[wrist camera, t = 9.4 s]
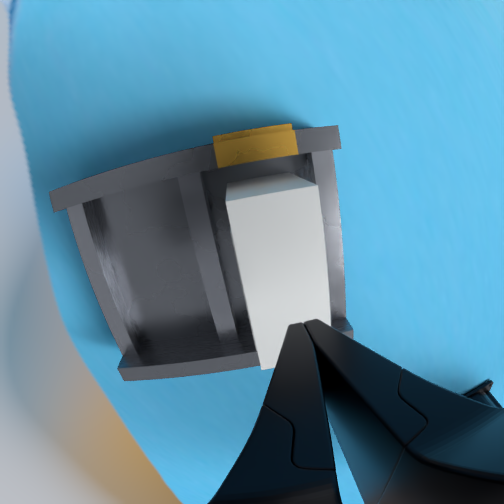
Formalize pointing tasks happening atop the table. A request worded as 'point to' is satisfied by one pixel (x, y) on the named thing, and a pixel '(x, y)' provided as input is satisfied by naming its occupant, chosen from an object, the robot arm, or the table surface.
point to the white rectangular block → (279, 256)
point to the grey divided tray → (191, 247)
